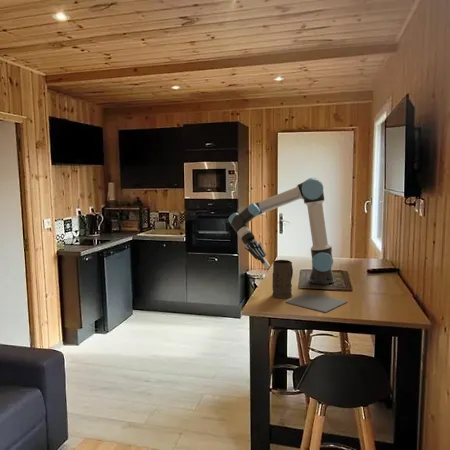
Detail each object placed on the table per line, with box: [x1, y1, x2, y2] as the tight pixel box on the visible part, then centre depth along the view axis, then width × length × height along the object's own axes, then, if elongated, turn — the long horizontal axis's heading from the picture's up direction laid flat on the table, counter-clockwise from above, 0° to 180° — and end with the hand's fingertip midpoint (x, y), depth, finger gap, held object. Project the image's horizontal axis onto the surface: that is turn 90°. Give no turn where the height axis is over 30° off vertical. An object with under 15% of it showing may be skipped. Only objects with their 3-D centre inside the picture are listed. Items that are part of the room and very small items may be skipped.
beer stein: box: [271, 259, 294, 300], centre depth 233 cm, size 15×11×20 cm
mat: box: [285, 291, 348, 314], centre depth 220 cm, size 24×22×1 cm
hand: (268, 267), depth 240 cm, fingers closed
